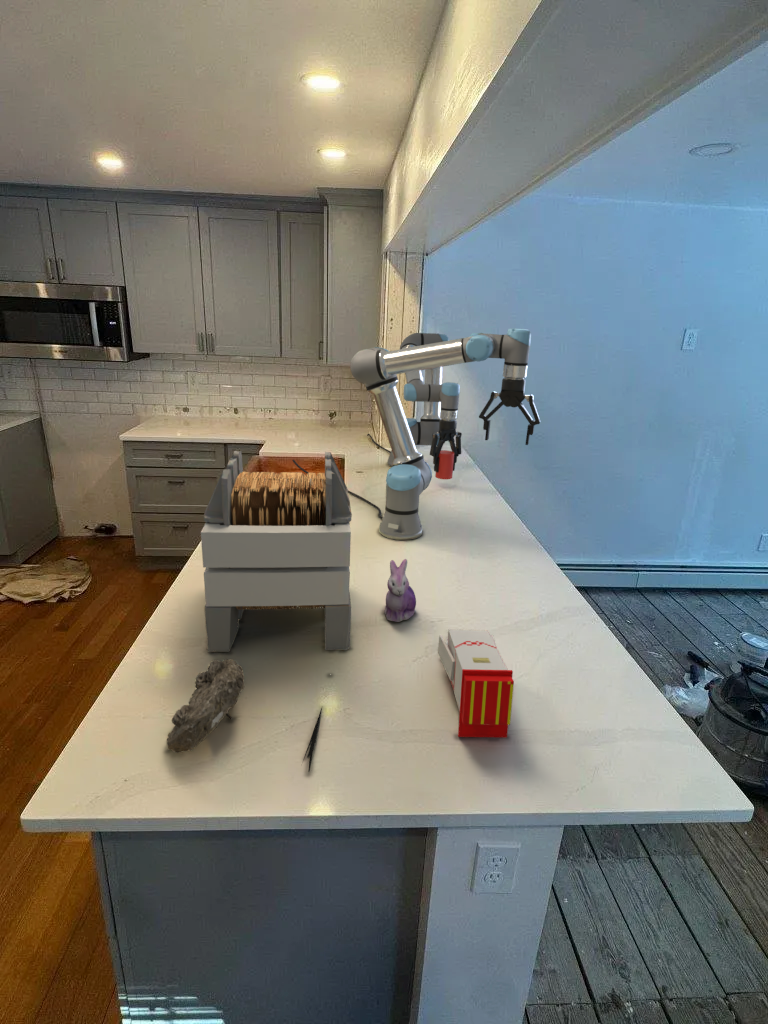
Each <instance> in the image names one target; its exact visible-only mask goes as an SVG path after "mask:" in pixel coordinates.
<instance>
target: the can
mask: <svg viewBox="0 0 768 1024" xmlns="http://www.w3.org/2000/svg"><path fill="white" fill-rule="evenodd" d="M438 457H439V458H440V459H439V472H435V473H434V474H435V475H434V476H435V478H436V479H439V480H451V479H453V473H454V471H453V463H454V452H452V450H446V449H445V450H444V449H441V451H440V453H439V456H438Z"/></svg>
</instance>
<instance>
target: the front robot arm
mask: <svg viewBox="0 0 768 1024" xmlns="http://www.w3.org/2000/svg"><path fill="white" fill-rule="evenodd" d="M531 341H532V332H531V330H529V329H528V328H527V329H525V328H508V330H507V333H506V334H496V333H483V332H474V333H471V334H470V336H465V337H461V338H455V339H449V341H444V342H438V343H433V344H427V345H421V346H416V347H410V348H405V349H400V348H399V349H394V350H388V349H387V348H384V347H380V346H374V347H371V348H366V349H360V350H359V351H358V352H356V353H355V354H354V355H353V357H352V358H351V361H350V367H349V368H350V372H351V375H352V377H353V378H354V379H355V380H356V381H357V382H358V383H360V384H363V385H364V386H365V388H366V391H367V393H369V394H371V395H372V396H373V398H374V402H375V404H376V407H377V410H378V413H379V417H380V420H381V423H382V426H383V429H384V431H385V434H386V437H387V440H388V443H389V446H390V449H391V450H392V452H393V455H394V460H393V462H392V465H393V467H391V466H390V468H389V469H388V470H387V471H386V472H387V473H386V476H385V477H386V478H385V483H386V484H385V504H384V505H385V507H384V508H385V509H384V513H383V515H382V510H381V508H380V507H379V506H378V505H376V504H374V503H373V502H371V501H369V500H368V499H366V498H364V497H362V496H361V495H358V494H357V493H355V492H352V491H351V490H348V495H351V496H354V497H356V498H358V499H360V500H361V501H363V502H364V503H366V504H368V505H370V506H371V507H373V508H375V509H376V510H377V512H378V514H377V515H378V518H379V519H381V522H379V525H378V533H379V534H380V535H381V536H382V537H385V538H387V539H389V540H395V541H410V540H415V539H418V538H420V537H421V536H422V535H423V525H422V524H421V518H420V515H419V507H420V506H419V505H420V496H421V494H422V493H423V492H425V490H426V489H427V488H428V487H429V486H430V483H431V481H432V478H433V471H432V468H431V466H430V464H429V463H428V462H427V461H425V458H424V454H423V453H422V452H421V451H418V450H417V447H416V445H415V444H414V441H413V438H412V434H411V431H410V428H409V425H408V422H407V419H406V418H407V416H406V413H405V410H404V407H403V405H402V402H401V398H400V396H399V392H398V390H397V385H398V383H399V379H398V375H401V374H405V373H407V372H413V371H419V370H421V371H425V369H431V368H437V367H443V368H444V367H448V366H455V365H461V364H467V363H474V362H484V361H486V360H488V359H502V360H504V362H503V370H502V377H503V378H502V380H501V388H500V392H497V391H495V390H493V391H492V392H491V393H490V396H489V398H488V401H487V402H486V404H485V405H484V407H483V409H481V412H480V413H479V415H478V418H479V419H481V420H483V427H482V429H483V431H485V438H484V440H485V441H488V440H489V439H490V431H491V421H492V420H491V419H490V418H491V417H492V416H493V415H495V413H496V412H498V411H499V410H500V409H501V408H502V407H503V406H504V407H506V408H509V407H511V408H518V409H519V410H520V411H521V413H522V414H523V416H524V417H525V420H526V421H527V422H528V423H529V424H527V428H526V429H527V430H526V437H525V446H528V445H529V443H530V437H531V436H533V434H534V431H535V426H536V425H537V426H538V425H540V424H541V419H540V415H539V412H538V409H537V407H536V404H535V401H534V398H535V397H534V394H531V393H530V394H525V389H526V378H527V374H528V365H529V364H528V363H529V358H530V352H531V351H530V350H531ZM498 397H499V399H500V402H499V403H498V404H497V405H496V406H495V407H494V408H493V409H492V410H491V411H490V412H489V413H488V414H487V412H488V411H489V408H490V407H491V405H492V404H493V402H494V401H495V399H497V398H498ZM524 400H526V402H528V404H529V407H530V410H531V412H532V416H533V417H532V416H531V415H530V413H529V411H528V410H527V408H526V407H525V404H524V403H523V401H524ZM533 418H534V419H533ZM291 461H292V463H293V464H294V465H295V467H297V468H298V469H299V470H300V471H302V472H303V473H304V474H305V473H306V474H307V473H310V472H309V471H307V470H306V469H304V468H303V467H301V466H300V465H299V464H298V463H297V462H296V460H295V459H292V460H291Z"/></svg>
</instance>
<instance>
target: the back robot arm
mask: <svg viewBox="0 0 768 1024" xmlns="http://www.w3.org/2000/svg"><path fill="white" fill-rule="evenodd" d="M449 340H450V339H449V337H448V335H447V334H444V333H440V332H439V333H437V332H435V333H434V332H433V333H431V332H429V333H427V332H413V333H411V334H409V335H407V336H406V337H405V338H404V339H403V340H402V342H401V344H400V346H399V349H405V348H410V347H416V346H421V345H427V344H433V343H438V342H444V341H449ZM443 369H444V366H443V367H437V368H431V369H425V370H424V377H423V372H422V371H423V370H419V371H413V372H407V373H404V375H405V380H406V383H404V385H403V400H404V401H406V402H412V403H413V402H421V403H422V402H423V415H422V416H420V419H419V421H418V419H416V418H414V417H413V418H412V417H406V419H407V422H408V425H409V428H410V431H411V434H412V438H413V441H414V444H415V446H430V450H429V456H431V457H433V459H432V464H433V471H434V472H435V473H436V472H439V459H440V458H439V457H438V456H439V453H440V451H441V450H443V446H444V444H445V443H446V442H448V443H449V446H450V449H451V450H450V451H452V452H454V463H453V472H455V470H456V464H457V461H458V457H459V456H460V455H462V435H463V434H462V432H461V431H457V426H458V421H457V420H458V414H459V413H458V412H459V402H460V394H461V390H460V389H461V388H460V387H461V386H460V384H459V383H458V382H449V381H447V382H443V373H444V372H443V371H444V370H443ZM367 436H369V438H370V439H371V441H372V442H373V444H375V445H376V446H377V447H379V448H381V449H382V450H384V451H385V452H388V453H389V456H388V459H387V466H389V467H390V468H391V467H393V465H392V462H393V460H394V455H393V452H392V449H391V450H389V449H387V448H385V447H383V446H382V445H380V444H378V443H377V442H376V441H375V440H374V438H373V436H372V435H371V434H370V433H367V434H366V437H367Z"/></svg>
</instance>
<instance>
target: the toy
mask: <svg viewBox="0 0 768 1024" xmlns="http://www.w3.org/2000/svg"><path fill="white" fill-rule="evenodd" d="M446 640H447V643H446V641H445V639H444V636H443V635H442V634H439V637H438V646H437V656H438V657H439V659H440V661H441V663H442V666H443V668H444V670H445V672H446V674H447V677H448V679H449V681H450V684H451V687H452V690H453V693H454V697H455V701H456V705H457V708H458V711H459V714H458V715H459V716H458V730H457V731H458V732H457V737H458V738H508V731H509V726H510V725H511V717H512V707H513V697H514V696H513V695H514V684H515V680H514V679H513V673H514V671H513V670H512V669H508V667H507V665H506V662H505V661H504V659H503V658H502V655H501V653H500V651H499V649H498V647H497V643H496V639H495V637H494V635H493V634H491V632H490V631H489V629H467V628H466V629H465V628H463V629H461V628H460V629H459V628H448V630H447V639H446Z"/></svg>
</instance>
